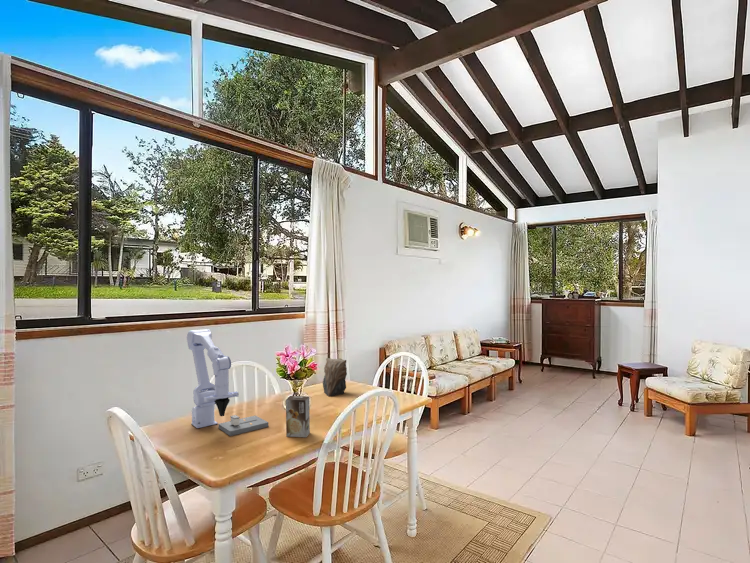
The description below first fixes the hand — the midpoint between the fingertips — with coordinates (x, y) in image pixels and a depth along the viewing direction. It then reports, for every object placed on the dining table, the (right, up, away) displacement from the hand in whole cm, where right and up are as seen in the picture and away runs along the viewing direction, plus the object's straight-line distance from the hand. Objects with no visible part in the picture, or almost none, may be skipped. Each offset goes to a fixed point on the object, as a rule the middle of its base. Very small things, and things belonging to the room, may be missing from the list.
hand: (221, 415), depth 190 cm
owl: (+42, -7, +64) cm, 77 cm away
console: (+7, -7, +7) cm, 13 cm away
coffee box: (+34, -8, -2) cm, 35 cm away
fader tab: (+4, -5, +4) cm, 8 cm away
